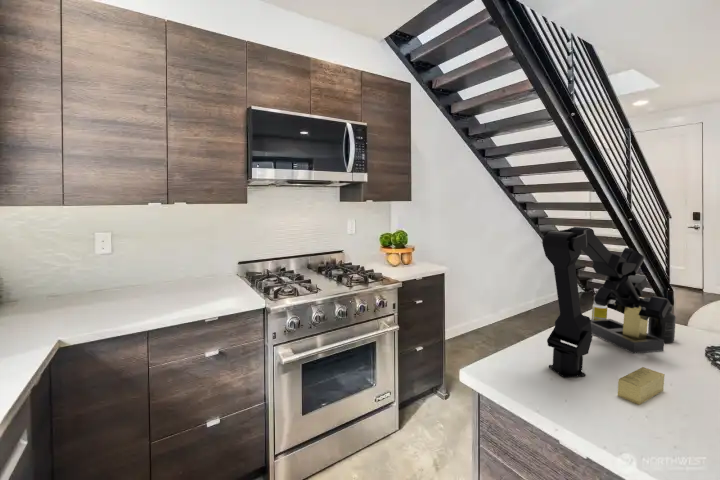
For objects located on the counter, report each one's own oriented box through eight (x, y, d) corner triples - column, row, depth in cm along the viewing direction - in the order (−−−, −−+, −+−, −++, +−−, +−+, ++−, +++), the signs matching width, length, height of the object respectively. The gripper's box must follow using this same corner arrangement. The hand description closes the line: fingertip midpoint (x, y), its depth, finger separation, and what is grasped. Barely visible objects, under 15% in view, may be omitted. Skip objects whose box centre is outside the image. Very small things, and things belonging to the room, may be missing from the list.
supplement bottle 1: (609, 323, 135) (610, 301, 134) (596, 323, 135) (598, 302, 134) (601, 319, 140) (602, 298, 139) (588, 319, 140) (590, 298, 139)
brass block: (639, 343, 111) (642, 304, 110) (619, 337, 116) (622, 300, 115) (648, 340, 113) (652, 302, 112) (629, 334, 118) (632, 297, 117)
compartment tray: (633, 353, 109) (634, 342, 109) (583, 330, 129) (584, 320, 129) (663, 351, 111) (664, 340, 110) (609, 328, 130) (610, 318, 130)
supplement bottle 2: (671, 338, 121) (674, 303, 119) (676, 345, 115) (679, 308, 114) (646, 334, 124) (648, 300, 123) (648, 340, 119) (651, 305, 117)
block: (639, 405, 83) (640, 387, 82) (617, 396, 86) (618, 378, 86) (663, 391, 88) (664, 374, 88) (641, 383, 92) (643, 366, 92)
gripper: (670, 271, 102) (684, 304, 108) (601, 262, 118) (617, 290, 125) (654, 302, 99) (670, 334, 106) (585, 288, 116) (602, 316, 122)
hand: (638, 316), depth 115 cm, fingers closed on brass block, 5 cm apart
